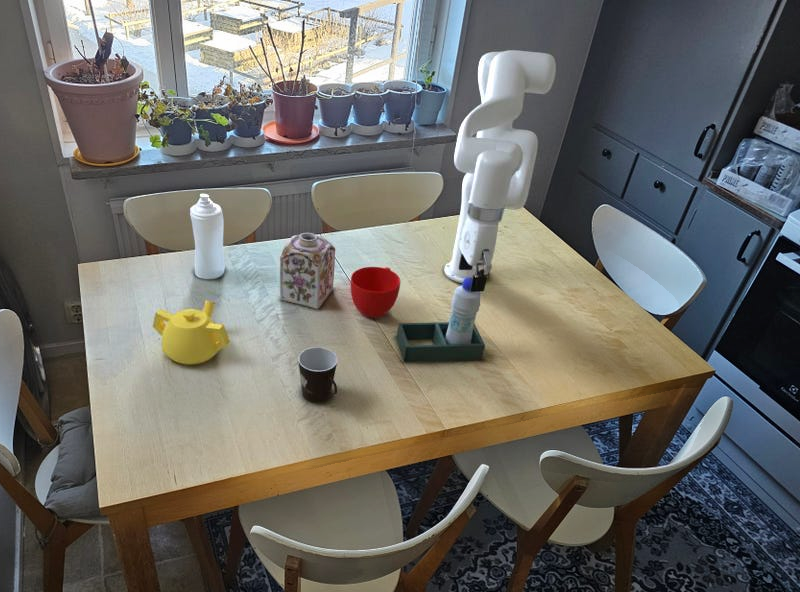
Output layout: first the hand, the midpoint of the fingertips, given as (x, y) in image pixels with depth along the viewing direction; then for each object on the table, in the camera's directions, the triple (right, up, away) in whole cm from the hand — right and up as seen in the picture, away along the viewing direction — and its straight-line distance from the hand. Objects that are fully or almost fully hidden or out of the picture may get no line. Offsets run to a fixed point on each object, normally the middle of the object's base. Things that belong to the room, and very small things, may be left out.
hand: (470, 279), depth 147 cm
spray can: (-66, +6, +37) cm, 76 cm away
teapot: (-65, -15, +10) cm, 68 cm away
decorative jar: (-38, -1, +30) cm, 49 cm away
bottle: (-1, -16, +13) cm, 20 cm away
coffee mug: (-36, -27, -4) cm, 45 cm away
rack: (-5, -16, +12) cm, 20 cm away
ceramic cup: (-20, -4, +26) cm, 33 cm away
